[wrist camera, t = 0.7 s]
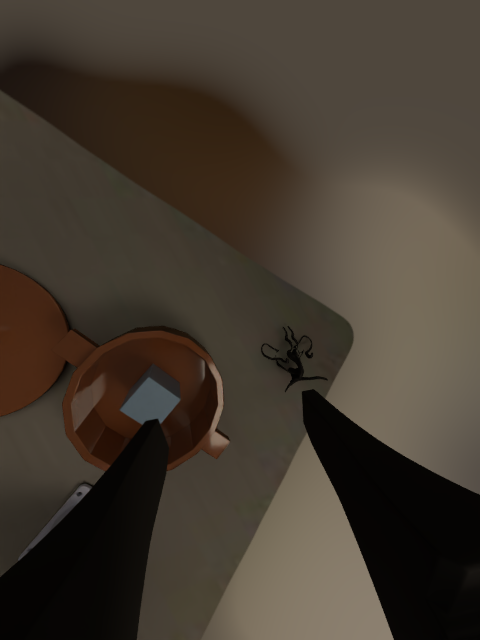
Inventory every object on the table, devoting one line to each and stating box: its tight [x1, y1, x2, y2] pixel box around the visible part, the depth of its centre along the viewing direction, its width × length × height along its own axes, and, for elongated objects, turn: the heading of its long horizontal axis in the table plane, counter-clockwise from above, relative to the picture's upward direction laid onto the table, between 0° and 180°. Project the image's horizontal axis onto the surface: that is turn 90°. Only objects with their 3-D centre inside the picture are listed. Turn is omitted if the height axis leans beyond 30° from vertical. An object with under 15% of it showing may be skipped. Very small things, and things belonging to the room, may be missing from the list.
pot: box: [51, 326, 230, 472], centre depth 24 cm, size 14×20×6 cm
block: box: [120, 364, 181, 425], centre depth 24 cm, size 4×4×5 cm
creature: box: [261, 326, 328, 392], centre depth 29 cm, size 8×5×8 cm
